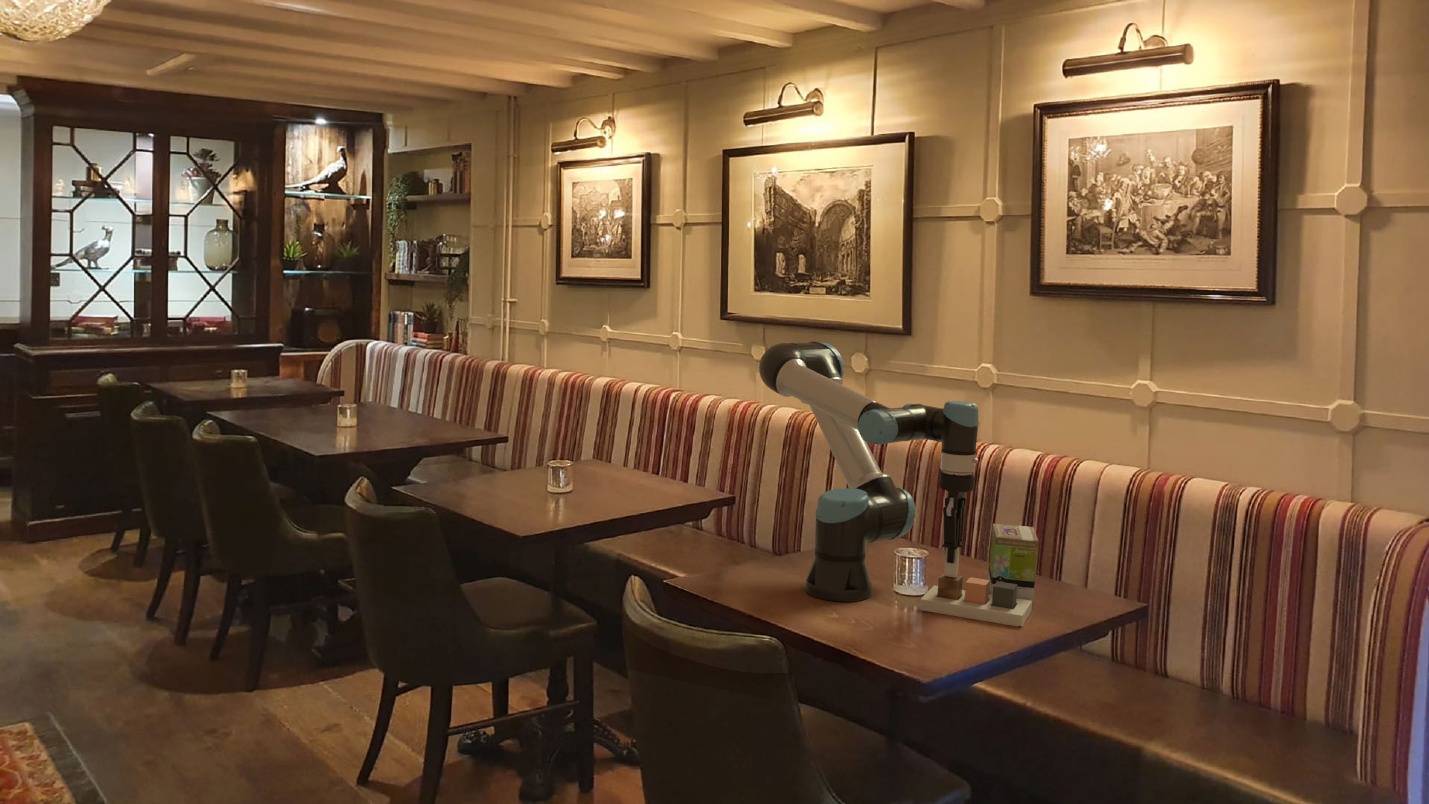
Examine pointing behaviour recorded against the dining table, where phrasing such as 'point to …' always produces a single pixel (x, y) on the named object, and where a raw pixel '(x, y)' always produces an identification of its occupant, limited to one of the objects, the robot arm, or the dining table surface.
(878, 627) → the dining table surface
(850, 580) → the robot arm
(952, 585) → the key walnut
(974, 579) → the key terracotta
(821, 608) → the dining table surface
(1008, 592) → the key dark grey
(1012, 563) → the tea box
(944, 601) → the key panel
